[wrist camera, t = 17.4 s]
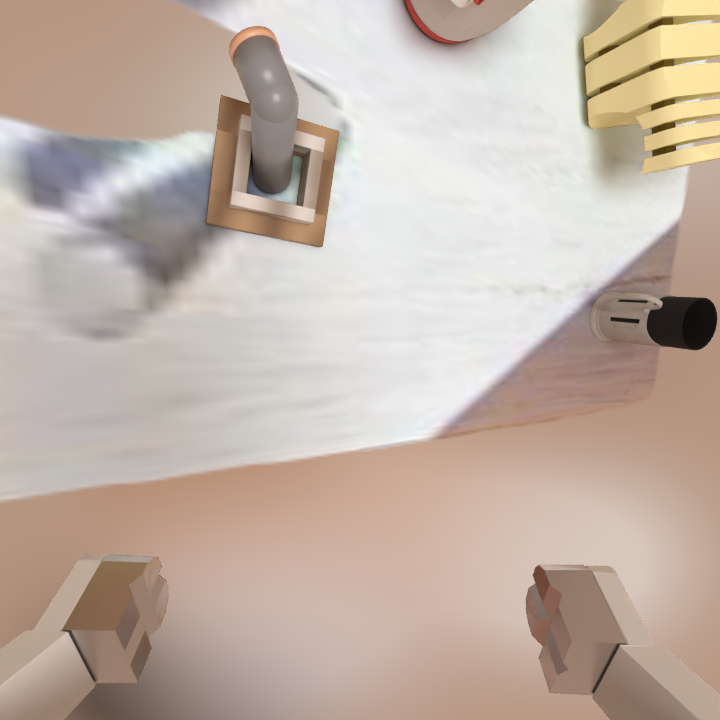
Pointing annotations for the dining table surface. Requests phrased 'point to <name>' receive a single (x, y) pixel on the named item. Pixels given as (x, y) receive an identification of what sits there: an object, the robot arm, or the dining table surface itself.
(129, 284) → the dining table surface
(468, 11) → the citrus juicer
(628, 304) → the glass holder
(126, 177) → the dining table surface
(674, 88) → the slatted curved stool
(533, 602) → the robot arm
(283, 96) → the pipe elbow
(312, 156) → the collar plate
